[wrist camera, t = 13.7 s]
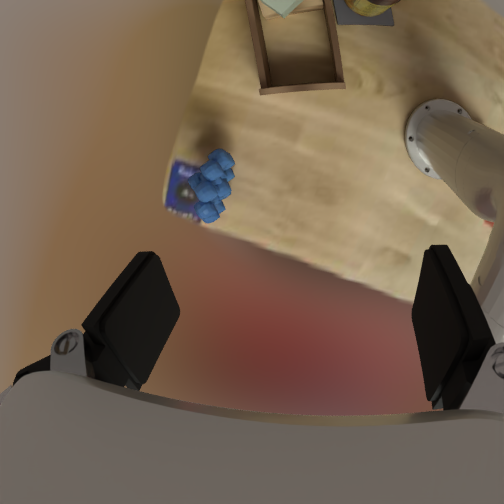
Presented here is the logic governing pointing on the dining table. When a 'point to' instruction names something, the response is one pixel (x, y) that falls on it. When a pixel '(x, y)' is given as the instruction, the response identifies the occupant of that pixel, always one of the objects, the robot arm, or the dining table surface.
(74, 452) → the robot arm
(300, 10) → the plate
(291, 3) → the offcut top
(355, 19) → the mat
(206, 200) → the grapes
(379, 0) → the sauce bottle
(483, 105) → the dining table surface
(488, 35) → the dining table surface
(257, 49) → the wooden tray
